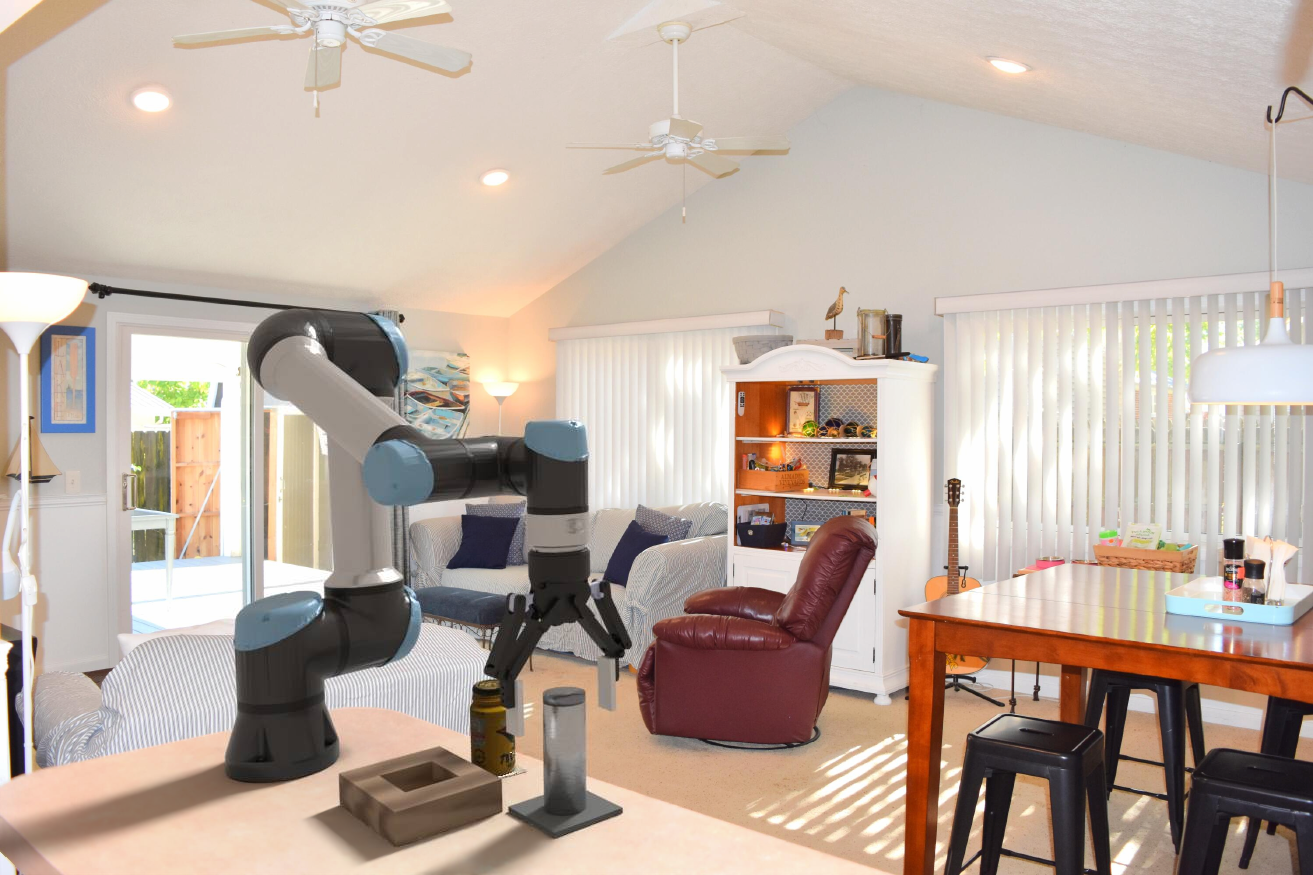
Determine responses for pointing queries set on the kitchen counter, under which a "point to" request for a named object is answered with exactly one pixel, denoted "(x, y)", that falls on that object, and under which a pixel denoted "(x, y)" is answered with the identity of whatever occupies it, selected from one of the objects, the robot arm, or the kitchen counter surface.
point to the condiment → (491, 731)
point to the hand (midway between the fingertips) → (563, 720)
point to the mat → (564, 824)
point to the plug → (564, 750)
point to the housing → (419, 794)
